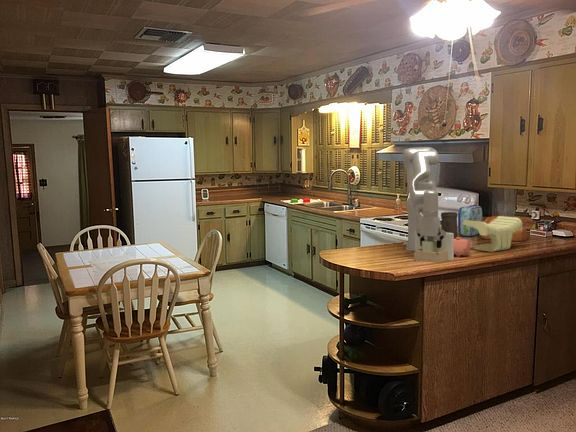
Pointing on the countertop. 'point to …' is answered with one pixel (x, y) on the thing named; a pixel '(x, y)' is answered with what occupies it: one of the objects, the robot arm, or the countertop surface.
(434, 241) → the cabinet box
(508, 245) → the slatted curved stool
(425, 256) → the beige slab with panel
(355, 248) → the countertop surface
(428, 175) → the robot arm
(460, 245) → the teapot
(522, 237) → the bread
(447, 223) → the beer stein
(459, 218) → the lunch box
